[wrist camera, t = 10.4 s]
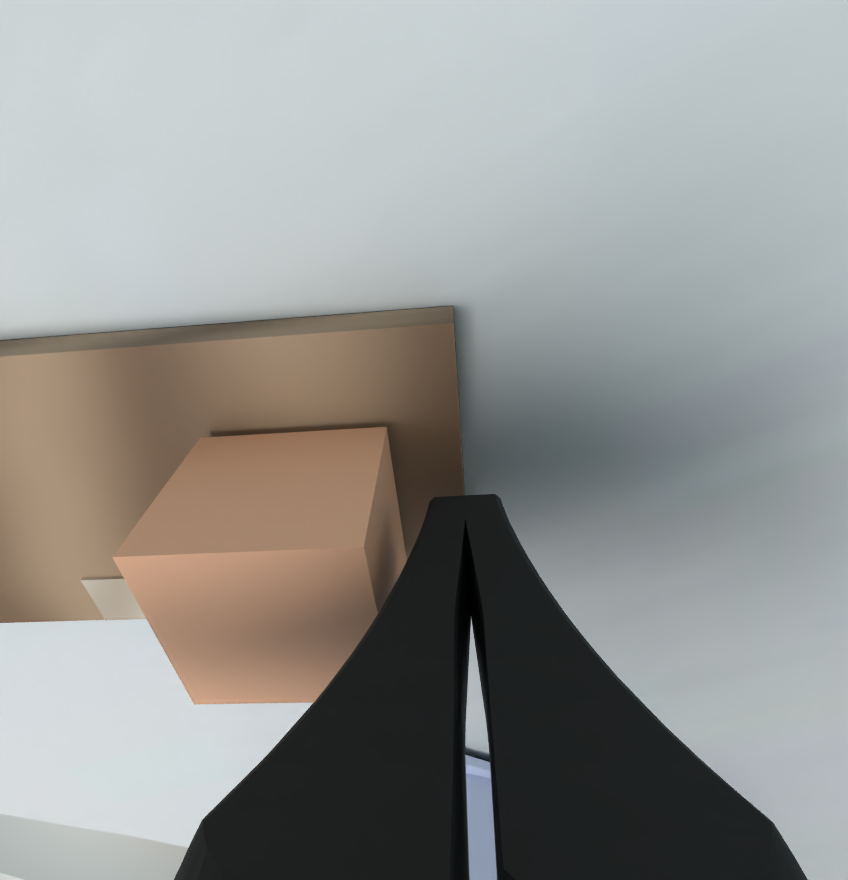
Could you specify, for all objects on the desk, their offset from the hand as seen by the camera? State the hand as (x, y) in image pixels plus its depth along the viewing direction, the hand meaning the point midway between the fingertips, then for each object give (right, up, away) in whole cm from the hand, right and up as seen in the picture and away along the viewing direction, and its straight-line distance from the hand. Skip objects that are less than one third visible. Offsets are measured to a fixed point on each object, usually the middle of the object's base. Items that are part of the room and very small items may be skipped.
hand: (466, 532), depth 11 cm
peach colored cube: (-3, 0, +1) cm, 4 cm away
